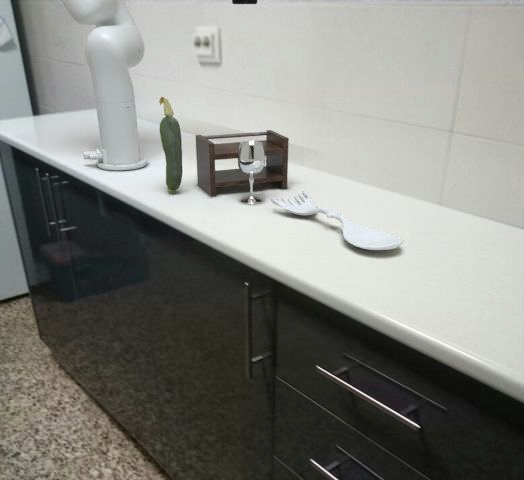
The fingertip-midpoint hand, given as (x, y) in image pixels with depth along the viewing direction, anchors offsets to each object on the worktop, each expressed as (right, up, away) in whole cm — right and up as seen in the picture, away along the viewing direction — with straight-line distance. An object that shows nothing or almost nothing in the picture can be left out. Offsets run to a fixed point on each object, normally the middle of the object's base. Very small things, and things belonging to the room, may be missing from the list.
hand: (245, 4), depth 125 cm
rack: (-1, -37, +9) cm, 38 cm away
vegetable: (-16, -40, +4) cm, 43 cm away
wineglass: (+1, -43, 0) cm, 43 cm away
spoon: (+17, -52, -16) cm, 57 cm away
